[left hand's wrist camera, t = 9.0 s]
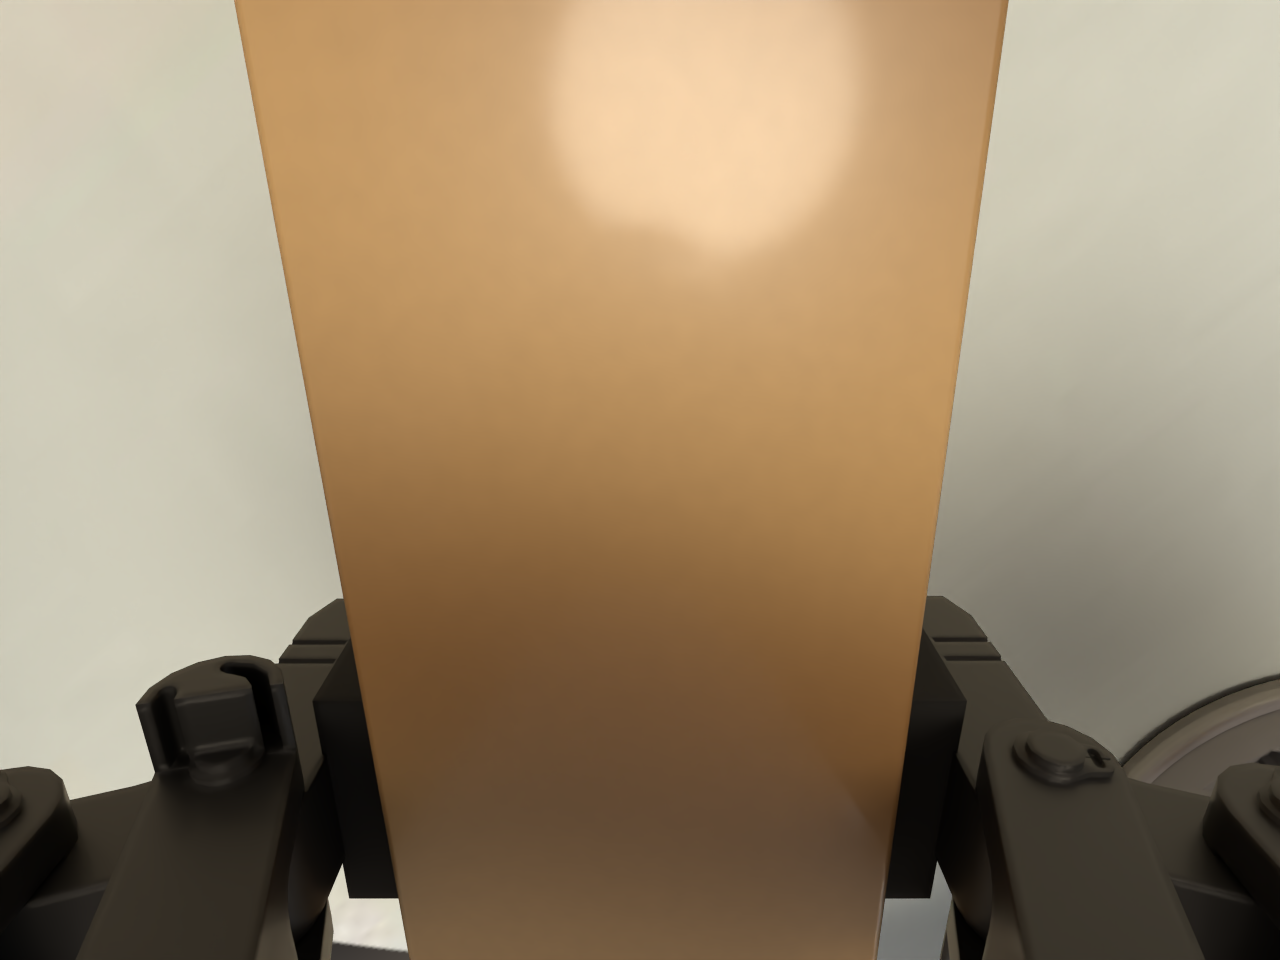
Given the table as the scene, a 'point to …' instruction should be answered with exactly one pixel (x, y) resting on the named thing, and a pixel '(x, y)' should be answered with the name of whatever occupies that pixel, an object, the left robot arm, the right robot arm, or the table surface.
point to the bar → (631, 440)
